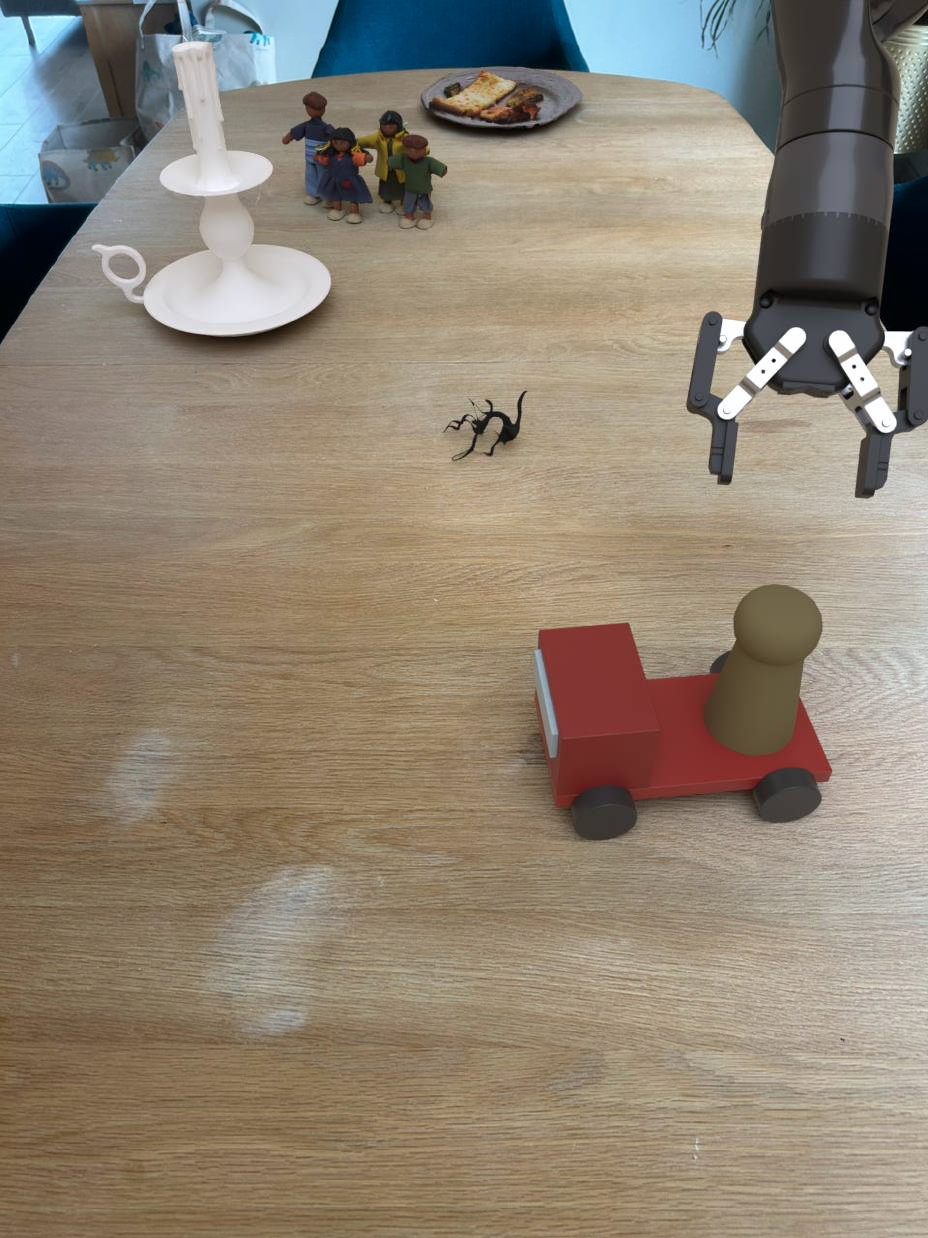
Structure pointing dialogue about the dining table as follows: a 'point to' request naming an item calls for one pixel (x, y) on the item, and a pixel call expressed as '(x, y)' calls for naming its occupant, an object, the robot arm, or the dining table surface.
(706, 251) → the dining table surface
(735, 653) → the brown peg doll
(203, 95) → the candlestick
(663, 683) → the toy truck
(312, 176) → the doll family
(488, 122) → the food plate
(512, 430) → the creature
